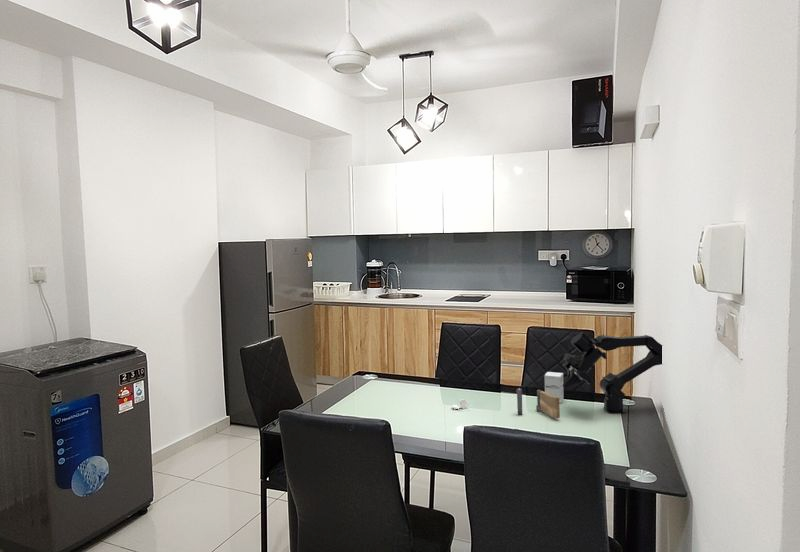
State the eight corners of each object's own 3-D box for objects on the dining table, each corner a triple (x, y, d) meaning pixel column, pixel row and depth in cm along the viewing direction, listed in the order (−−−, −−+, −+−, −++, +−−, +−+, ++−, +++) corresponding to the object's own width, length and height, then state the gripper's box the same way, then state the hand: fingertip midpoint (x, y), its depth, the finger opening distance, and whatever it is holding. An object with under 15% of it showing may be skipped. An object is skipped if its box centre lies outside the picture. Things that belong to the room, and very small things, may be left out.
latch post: (522, 413, 213) (521, 387, 213) (523, 415, 211) (522, 388, 210) (516, 413, 213) (515, 387, 213) (517, 415, 211) (517, 389, 210)
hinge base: (541, 409, 217) (541, 405, 217) (543, 411, 215) (543, 407, 215) (535, 409, 217) (535, 405, 217) (537, 411, 215) (537, 407, 214)
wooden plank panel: (540, 407, 217) (540, 388, 217) (559, 417, 203) (559, 397, 203) (536, 408, 217) (535, 388, 216) (555, 418, 203) (554, 398, 202)
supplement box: (544, 402, 227) (543, 375, 226) (547, 397, 234) (547, 371, 233) (561, 404, 224) (560, 376, 223) (564, 399, 230) (563, 372, 230)
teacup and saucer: (450, 410, 222) (449, 401, 222) (456, 405, 229) (456, 396, 229) (468, 413, 218) (468, 404, 218) (474, 407, 225) (474, 398, 225)
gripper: (566, 342, 219) (542, 369, 219) (584, 351, 201) (558, 380, 201) (584, 359, 220) (560, 385, 220) (603, 369, 201) (577, 398, 202)
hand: (563, 386), depth 211 cm, fingers closed
